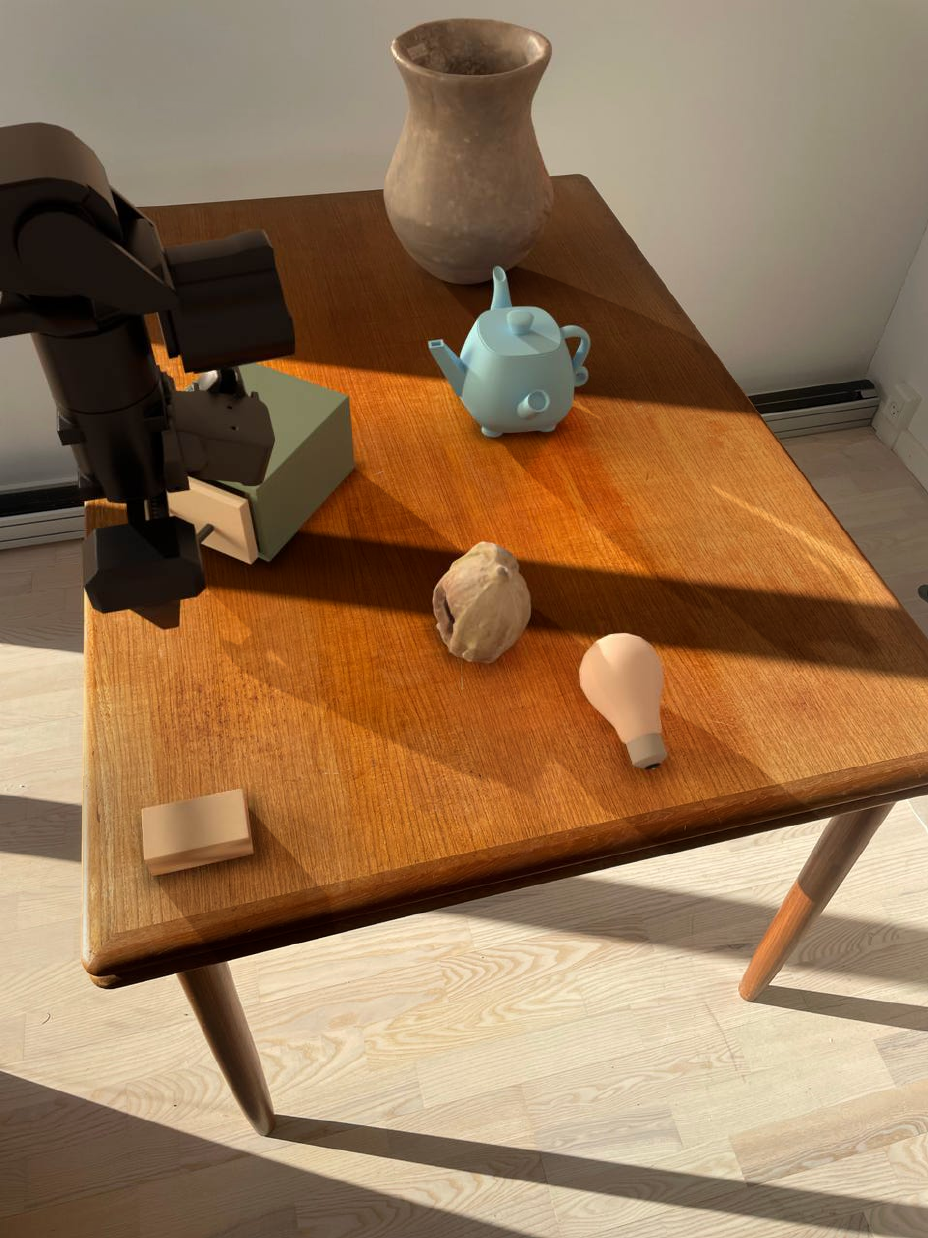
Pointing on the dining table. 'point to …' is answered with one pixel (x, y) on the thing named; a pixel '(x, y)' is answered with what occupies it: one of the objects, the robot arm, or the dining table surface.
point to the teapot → (515, 366)
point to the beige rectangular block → (196, 832)
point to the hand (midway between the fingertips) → (165, 575)
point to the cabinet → (296, 453)
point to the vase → (469, 148)
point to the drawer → (218, 517)
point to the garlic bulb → (482, 604)
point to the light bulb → (627, 693)
